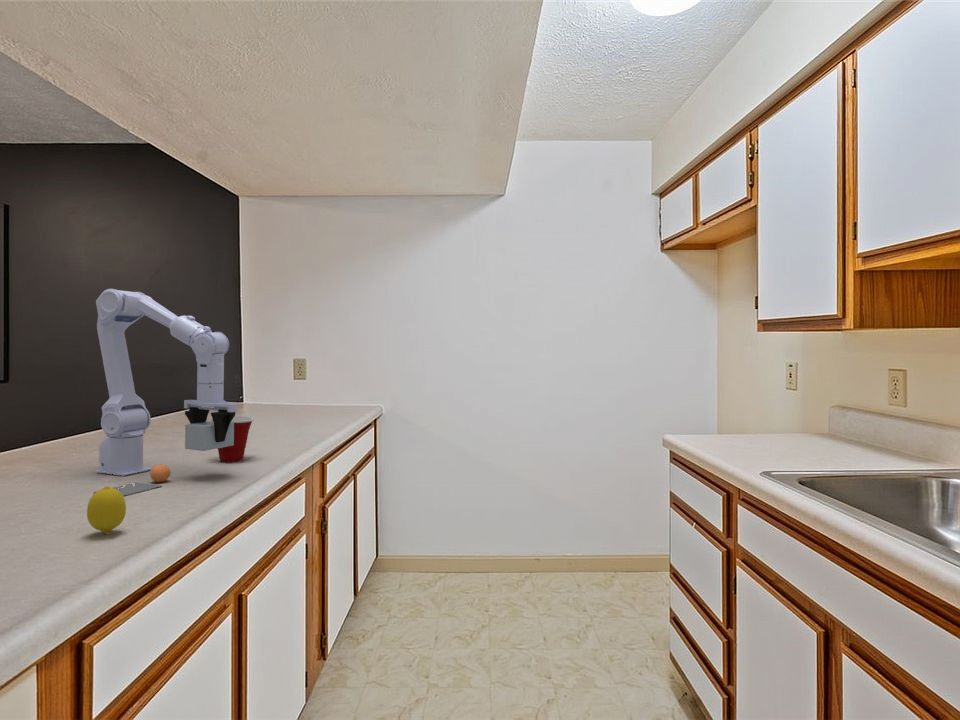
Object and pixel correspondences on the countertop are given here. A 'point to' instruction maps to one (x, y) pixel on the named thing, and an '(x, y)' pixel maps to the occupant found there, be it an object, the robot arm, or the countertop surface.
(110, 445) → the robot arm
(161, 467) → the ball
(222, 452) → the plastic cup
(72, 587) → the countertop surface
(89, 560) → the countertop surface
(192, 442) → the pale grey rectangular box
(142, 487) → the thin grey panel
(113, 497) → the lemon
